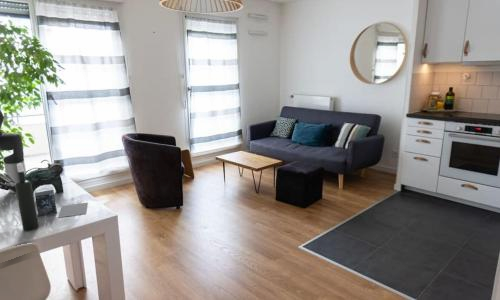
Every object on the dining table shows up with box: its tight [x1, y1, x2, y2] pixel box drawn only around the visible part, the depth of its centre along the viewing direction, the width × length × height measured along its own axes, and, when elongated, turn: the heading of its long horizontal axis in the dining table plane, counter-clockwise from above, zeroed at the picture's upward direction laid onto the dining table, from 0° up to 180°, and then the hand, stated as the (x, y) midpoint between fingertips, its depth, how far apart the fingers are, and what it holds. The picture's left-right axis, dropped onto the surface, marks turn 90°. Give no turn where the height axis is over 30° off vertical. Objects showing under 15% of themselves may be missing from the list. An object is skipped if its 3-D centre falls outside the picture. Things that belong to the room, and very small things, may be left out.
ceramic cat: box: [25, 159, 64, 196], centre depth 180 cm, size 20×6×20 cm, turn 136°
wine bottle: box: [15, 163, 40, 232], centre depth 143 cm, size 6×6×30 cm
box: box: [34, 189, 58, 217], centre depth 160 cm, size 8×6×11 cm
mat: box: [57, 202, 89, 219], centre depth 165 cm, size 14×12×1 cm
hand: (20, 191), depth 155 cm, fingers closed
